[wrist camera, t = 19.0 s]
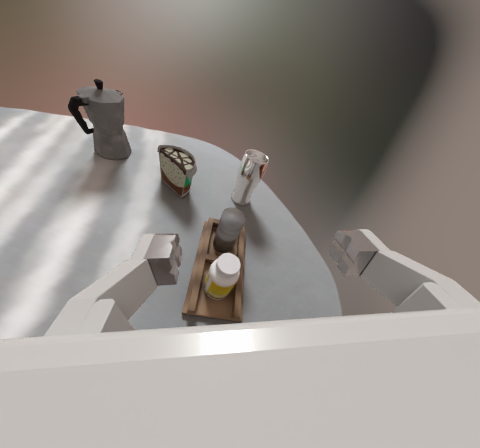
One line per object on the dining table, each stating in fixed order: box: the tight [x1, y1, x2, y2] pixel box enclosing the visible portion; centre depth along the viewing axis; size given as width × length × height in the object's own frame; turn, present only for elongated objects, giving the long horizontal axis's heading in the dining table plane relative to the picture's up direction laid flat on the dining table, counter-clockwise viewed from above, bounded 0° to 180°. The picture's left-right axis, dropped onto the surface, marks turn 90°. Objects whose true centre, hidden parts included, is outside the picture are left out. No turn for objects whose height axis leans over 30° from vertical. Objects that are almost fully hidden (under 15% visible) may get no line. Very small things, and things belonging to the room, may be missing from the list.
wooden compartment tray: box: [182, 208, 246, 322], centre depth 37 cm, size 22×11×11 cm, turn 177°
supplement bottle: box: [204, 253, 241, 300], centre depth 34 cm, size 5×5×10 cm
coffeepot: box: [68, 79, 131, 160], centre depth 48 cm, size 15×9×18 cm, turn 163°
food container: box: [158, 145, 197, 199], centre depth 51 cm, size 12×6×10 cm, turn 49°
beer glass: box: [231, 149, 269, 205], centre depth 53 cm, size 7×7×15 cm
